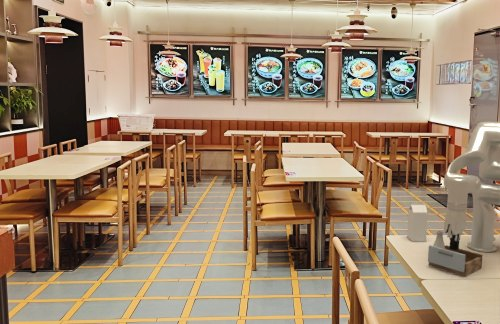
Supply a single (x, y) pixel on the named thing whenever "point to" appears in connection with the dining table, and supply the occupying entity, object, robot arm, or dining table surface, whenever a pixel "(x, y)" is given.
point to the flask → (439, 240)
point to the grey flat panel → (446, 258)
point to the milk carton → (417, 222)
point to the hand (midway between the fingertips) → (454, 249)
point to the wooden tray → (471, 262)
